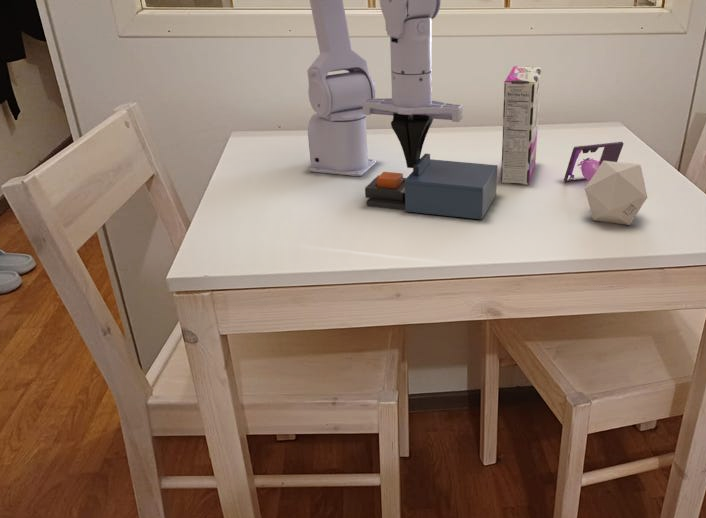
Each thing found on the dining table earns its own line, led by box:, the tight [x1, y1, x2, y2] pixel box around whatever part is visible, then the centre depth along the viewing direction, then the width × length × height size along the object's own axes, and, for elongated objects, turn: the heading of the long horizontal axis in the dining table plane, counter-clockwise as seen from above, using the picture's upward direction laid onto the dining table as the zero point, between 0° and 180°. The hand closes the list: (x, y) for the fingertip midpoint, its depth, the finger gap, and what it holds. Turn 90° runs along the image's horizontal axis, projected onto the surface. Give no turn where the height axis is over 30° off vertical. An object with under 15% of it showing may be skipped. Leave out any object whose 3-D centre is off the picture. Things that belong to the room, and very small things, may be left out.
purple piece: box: [563, 141, 625, 183], centre depth 117 cm, size 7×5×9 cm
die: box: [584, 161, 648, 226], centre depth 104 cm, size 8×9×10 cm
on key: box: [377, 171, 404, 188], centre depth 111 cm, size 3×3×2 cm
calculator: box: [364, 174, 407, 211], centre depth 110 cm, size 16×9×2 cm, turn 75°
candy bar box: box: [500, 65, 542, 186], centre depth 118 cm, size 11×5×16 cm, turn 168°
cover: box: [404, 153, 499, 220], centre depth 108 cm, size 12×10×6 cm
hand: (413, 166), depth 108 cm, fingers closed
